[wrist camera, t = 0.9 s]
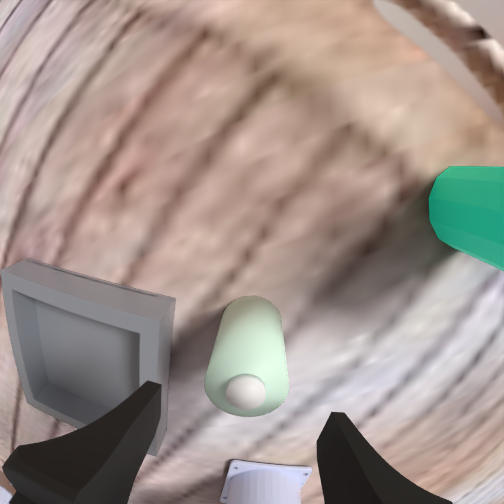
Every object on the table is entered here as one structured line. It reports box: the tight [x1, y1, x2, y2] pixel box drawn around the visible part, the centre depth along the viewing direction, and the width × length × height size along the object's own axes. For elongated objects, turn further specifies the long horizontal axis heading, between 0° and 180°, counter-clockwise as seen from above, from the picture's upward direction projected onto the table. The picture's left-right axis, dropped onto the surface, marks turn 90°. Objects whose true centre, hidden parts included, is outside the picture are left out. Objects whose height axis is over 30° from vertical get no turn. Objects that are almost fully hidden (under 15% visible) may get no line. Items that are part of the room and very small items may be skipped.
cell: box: [204, 296, 289, 417], centre depth 16 cm, size 4×4×8 cm
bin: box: [1, 258, 176, 456], centre depth 20 cm, size 13×13×4 cm
